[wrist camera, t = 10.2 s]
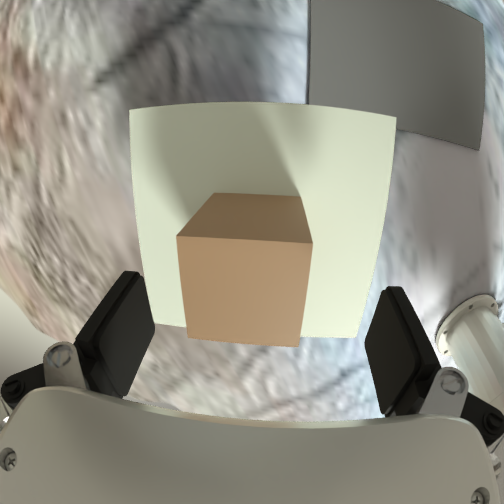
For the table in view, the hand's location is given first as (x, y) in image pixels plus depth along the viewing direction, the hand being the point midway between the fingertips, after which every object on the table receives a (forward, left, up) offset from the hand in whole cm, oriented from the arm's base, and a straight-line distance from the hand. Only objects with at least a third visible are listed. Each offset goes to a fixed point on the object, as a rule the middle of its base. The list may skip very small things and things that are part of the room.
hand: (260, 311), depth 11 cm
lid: (0, 0, -7) cm, 7 cm away
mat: (-14, -14, -19) cm, 27 cm away
